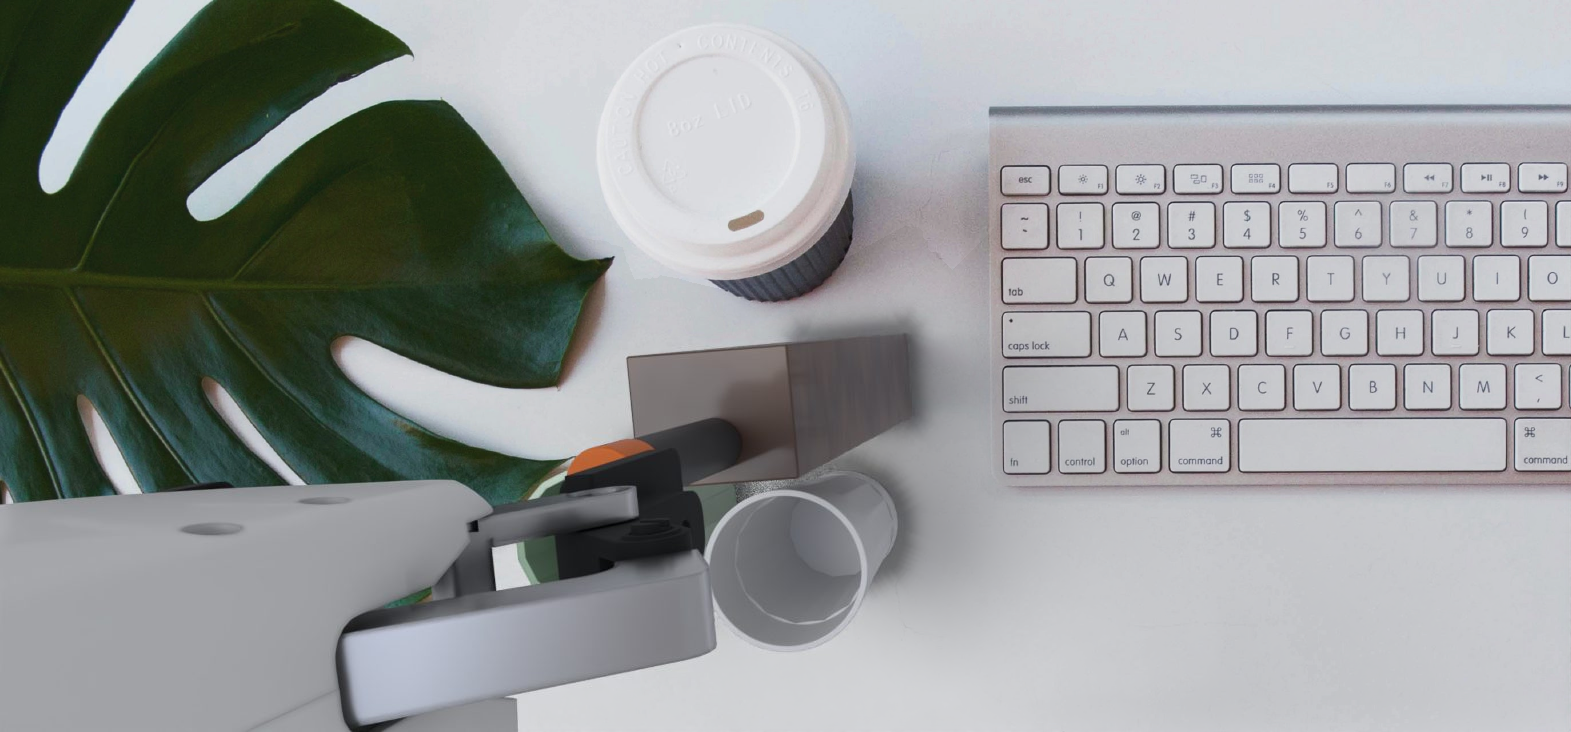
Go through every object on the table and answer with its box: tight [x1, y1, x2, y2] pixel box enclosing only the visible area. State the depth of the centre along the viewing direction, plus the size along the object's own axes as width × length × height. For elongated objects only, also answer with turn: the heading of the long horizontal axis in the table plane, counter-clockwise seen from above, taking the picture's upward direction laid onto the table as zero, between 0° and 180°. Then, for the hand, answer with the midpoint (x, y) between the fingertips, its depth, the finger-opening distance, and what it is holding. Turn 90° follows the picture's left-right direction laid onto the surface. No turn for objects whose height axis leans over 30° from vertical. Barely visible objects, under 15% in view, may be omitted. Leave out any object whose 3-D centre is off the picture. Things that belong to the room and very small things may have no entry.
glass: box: [515, 469, 738, 585], centre depth 59 cm, size 7×7×11 cm
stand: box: [625, 332, 914, 487], centre depth 52 cm, size 5×6×24 cm
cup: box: [704, 470, 899, 653], centre depth 58 cm, size 8×8×12 cm
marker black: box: [567, 418, 741, 487], centre depth 35 cm, size 2×2×9 cm
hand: (453, 535), depth 24 cm, fingers open, 9 cm apart
